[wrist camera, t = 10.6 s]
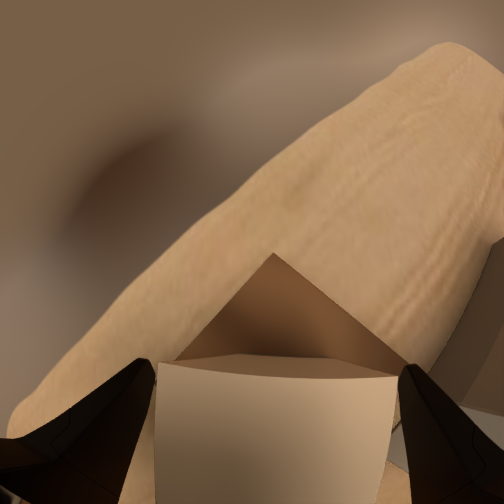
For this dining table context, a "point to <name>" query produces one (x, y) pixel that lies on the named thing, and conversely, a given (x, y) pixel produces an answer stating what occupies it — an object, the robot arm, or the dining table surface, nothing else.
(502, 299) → the open gray box
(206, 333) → the walnut board
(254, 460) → the footed box
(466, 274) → the dining table surface
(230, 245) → the dining table surface
